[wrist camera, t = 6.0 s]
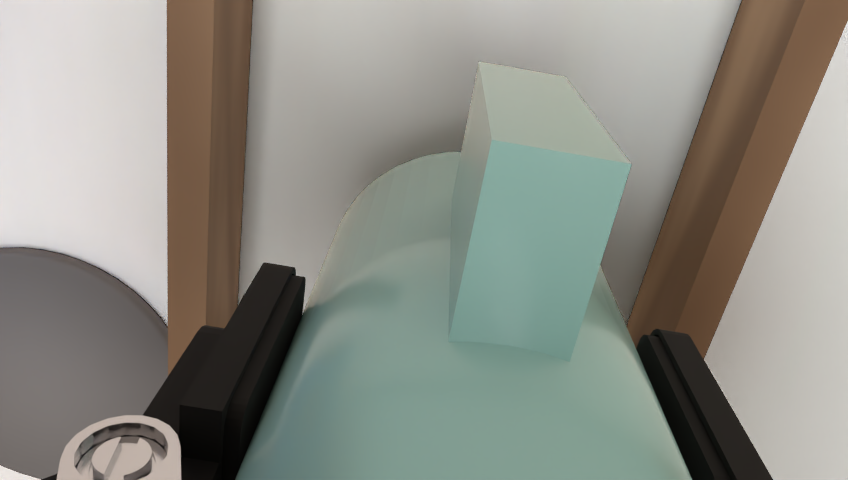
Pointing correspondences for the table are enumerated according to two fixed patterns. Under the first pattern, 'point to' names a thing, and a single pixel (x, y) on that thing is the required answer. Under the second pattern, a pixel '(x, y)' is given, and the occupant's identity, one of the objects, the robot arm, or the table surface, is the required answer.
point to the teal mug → (474, 316)
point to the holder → (684, 222)
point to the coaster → (69, 355)
